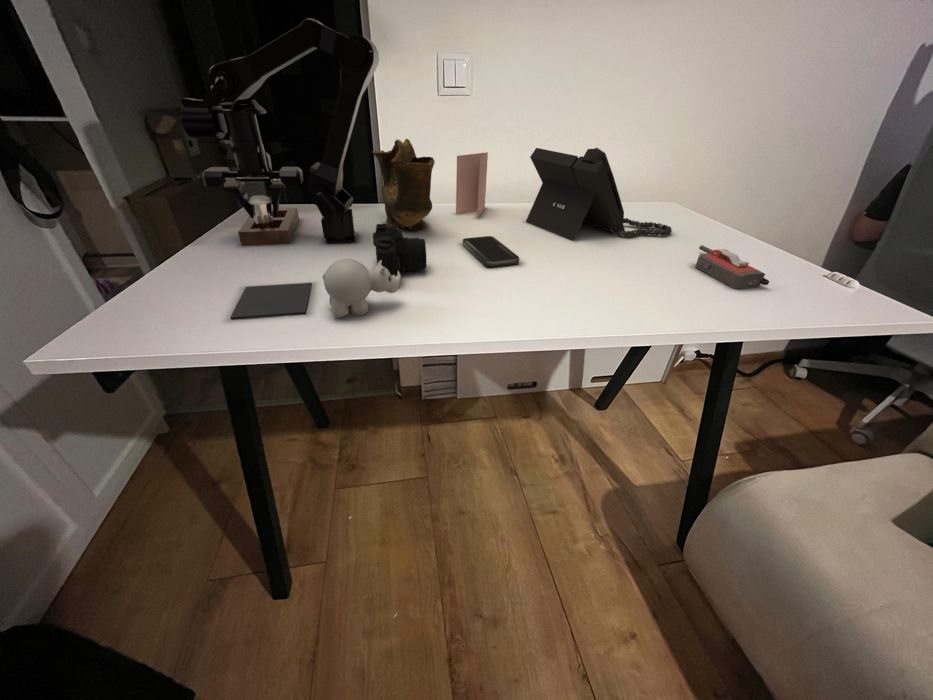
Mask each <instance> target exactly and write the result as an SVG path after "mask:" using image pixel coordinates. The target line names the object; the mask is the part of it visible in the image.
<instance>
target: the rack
mask: <svg viewBox="0 0 933 700" xmlns="http://www.w3.org/2000/svg"><path fill="white" fill-rule="evenodd" d="M272 213H273V220H274V227H275V228H263V229H258V228H257V225H256V222H255V219H254V218H251V217H250V215H248V218H247V219H246V220H245V222H244V223H243V225H242V226H241V227H240V228H239V230H238V231H237V234H238V238H239V240H240V241H239V242H240V245H241V246H264V245H267V246H268V245H290V244H291V242H292V239H293V238H294V235H295V232H296V229H297V227H298V224H299V221H300V215H299V211H298V207H286V208H285V207H283V208H280V207H279V211H278V217H277V218H276V217H275V215H274V211H273V208H272Z"/></svg>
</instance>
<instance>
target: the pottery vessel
mask: <svg viewBox="0 0 933 700" xmlns="http://www.w3.org/2000/svg"><path fill="white" fill-rule="evenodd" d="M372 154H373V156H374V157H375V158H376V159H377V161H378V164H379V169H380V173H381V178H382V188H381V194H382V200H383V204H384V211H385V215H386V220H385V224H386V225H388V226H390V225H395V226H397V227H399V228H400V229H405V228H408V230H409V231H411V232H412V231H413V230H414V231H418V230H422V229H424V228H425V226H426V223H425V222H424V220H423V219H425V218H427V216H429V214H430V213H431V211H432V210H433V201H432V200H431V188H432V187H431V186H432V173H433V168H434V165H435V163H436V161H435V159H434V157H433V156H421V157H417V154H416V152H415V148H414V146H413V143H412V142H411V141H410V139H409V138H407V137H406V138H405V140H404V141H401V139H399V138H398V139H396V140H395V141H394V145H393V146H392V149H391V150H388V151H385V150H380V151H379V150H372Z"/></svg>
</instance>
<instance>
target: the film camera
mask: <svg viewBox="0 0 933 700" xmlns="http://www.w3.org/2000/svg"><path fill="white" fill-rule="evenodd" d="M372 243H373V246H374V247H375V256H376V257H375V259H376V265H377V264H378V262H379V261H380V260H382V263H381V265H382V266H383V267H385V268H386V269H387V270H388V271H389V273H390V274H391V276H393V275H395V277H396V276H397V274H398V271H399V273H400V274H403V273H404V272H405V271H406V272H411V271H421V270H424V269H425V270H426V269H427V245H426V239H425V238H420V237H408V236H405V237H404V232H403V229H402V228H401V227H399V226H395V225H390V226H388V225H387V224H386V223H377V224H376V226H375V232H373V233H372Z"/></svg>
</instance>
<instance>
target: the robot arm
mask: <svg viewBox="0 0 933 700" xmlns="http://www.w3.org/2000/svg"><path fill="white" fill-rule="evenodd" d="M316 50H321V51H323V52H325V53H326V54H329V55H330V56H332V57H335V58H336V59H340V63H339V79H340V80H339V84H340V85H339V92H338V94H337V100H336V103H335V106H334V107H335V108H334V111H333V116H332V120H331V123H330V128H329V131H328V134H327V135H328V136H327V139H326V144H325V148H324V151H323V154H322V155H323V156H322V159H321V161H320V162H319V161H317V162H315V163H314V164H313V165H311V166H310V167H309V170H308V179H307V182H306V183H305V185H304V187H308V188H307V196H308V198H309V200H310V201H311V202H312V203H313V204H314V205H315V206H316V208H317V209H318V211H319V213H320V214H321V219H320V223H321V229H322V234H323V235H322V236H323V238H324V239H325V243H326V244H340V243H341V244H342V243H355V242H357V231H356V230H355V223H354V222H355V221H354V215H353V209H352V206H353V201H354V197H353V196H352V195H351V194H349V192H348V191H346V190H345V189H344V188H343V184H344V162H345V158H346V155H347V151H348V147H349V143H350V140H351V138H352V133H353V129H354V126H355V122H356V118H357V114H358V111H359V107H360V104H361V102H362V101H361V100H362V97H363V95H364V93H365V91H366V89H367V88H368V86H369V84H370V83H371V81H372V78H373V76H374V75H375V74H374V73H375V72H376V70H377V68H378V66H379V61H380V55H379V51H378V49H377V46H376V45H375V44H374V42H373V41H372V40H370V38H368V37H365V36H363V35H360V34H351V35H349V36H347V35H345V34H343V33H341V32H339V31H337V30H334V29H332V28H330V27H329V26H327V25H325V24H323V23H322V22H320V21H319V20H317V19H314V18H311V17H307V18H304V19H303V20H302V21H301V23H300V24H298V25H296V26H295V27H293V28H291V29H289V30H288V31H286V32H285V33H283V34H281V35H280V36H278V37H276V38H275V39H273V40H271V41H270V42H268V43H266V44H265V45H263V46H262V47H260V48H258V49H257V50H255V51H253V52H252V53H250V54H247V55H244V56H239V57H235V58H231V59H228V60H224V61H221V62H217V63H215V64H213V65H212V66H211V67H210V68H209V70H208V80H209V84H208V86H207V89H206V92H205V94H204V97H203V99H198V98H197V99H196V98H192V97H183V98H181V99H180V101H181V105H182V106H181V108H180V119H179V121H180V123H181V126H182V128H183V131H184V132H185V133H186V135H187V136H188V137H190V138H194V139H195V138H196V139H216V140H217V139H219V140H220V139H221V140H223V139H224V138H225V136H226V134H227V133H228V137H229V141H230V145H231V147H230V149H231V153H232V154H233V157H234V162H235V164H236V167H237V169H236V171H231V170H230V168H229V167H228V166H210V167H207V169H205V170H203V172H202V174H201V179H202V181H203V184H204V187H206V188H207V187H210V188H213V187H216V188H217V187H222V186H223V185H224V187H223V190H224V191H226V192H227V191H228V192H230V193H231V195H232V196H233V197H234V198H235V199H236V200H237V201H238V202H239V204H240V205H241V207H242V208H243V209H244V210H245V212H246V213H247V214H248V216H250V217H251V218H254V216H253V213H252V211H251V208H250V205H249V202H248V201H249V199H250V197H249V195H248V192H247V187H246V182H270V183H272V184H271V185H270V186H269V192H270V197H271V204H272V209H273V211H274V215H275V217H276V218H277V217H278V211H279V208H280V201H281V195H282V192H283V191H284V190H286V189H287V187H289V186H293V187H294V186H302V184H303V182H304V180H305V179H304V173H303V170H302V168H300V167H299V166H282V167H281V168H280V169H279V170H276V171H275V170H273V166H272V159H271V155H270V154H269V153H268V152H266V150H265V146H264V144H263V140H262V137H261V131H260V128H259V124H258V119H257V116H259V115H265V114H267V110H266V109H265V108H264V107H263V106H262V105H260V104H259V103H258V102H257V100H256V99H250V100H248V103H236V102H237V101H242V100H247V99H249V98H251V97H252V96H253V95H254V94H255V93H256V92H257V91H258V90H259V89H260V88H261V87H262V85H263V84H264V83H265V82H266V80H267V79H268V78H269V77H271V76H272V75H274V74H276V73H278V72H279V71H281V70H283V69H285V68H286V67H288V66H290V65H291V64H294V63H295V62H296V61H298V60H301V58H304V57H305V56H306V55H308V54H310V53H312V52H314V51H316ZM228 105H231V106H230V109H228V108H223V106H228Z"/></svg>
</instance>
